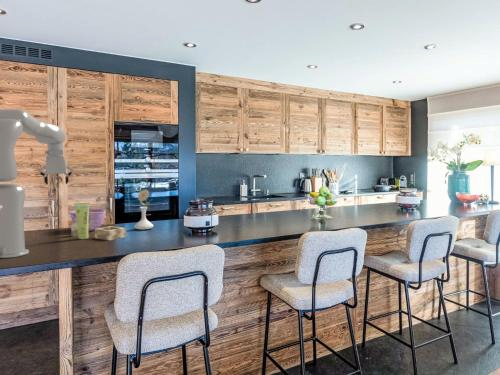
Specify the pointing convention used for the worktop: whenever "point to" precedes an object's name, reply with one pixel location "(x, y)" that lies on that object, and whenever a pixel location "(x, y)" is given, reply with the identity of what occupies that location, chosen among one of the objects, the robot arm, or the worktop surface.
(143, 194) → the flower in vase
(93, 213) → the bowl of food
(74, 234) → the short dowel
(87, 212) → the tube
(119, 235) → the collar block
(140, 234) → the worktop surface
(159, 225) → the worktop surface
